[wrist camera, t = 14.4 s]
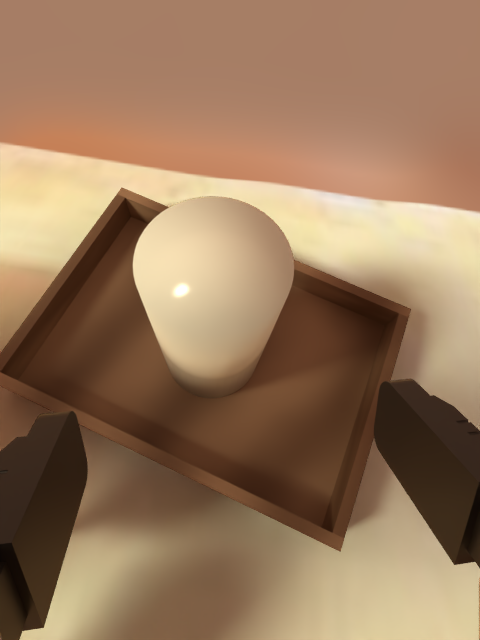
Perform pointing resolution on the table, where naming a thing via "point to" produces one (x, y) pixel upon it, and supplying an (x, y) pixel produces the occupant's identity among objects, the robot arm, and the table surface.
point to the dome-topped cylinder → (213, 289)
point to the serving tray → (225, 412)
